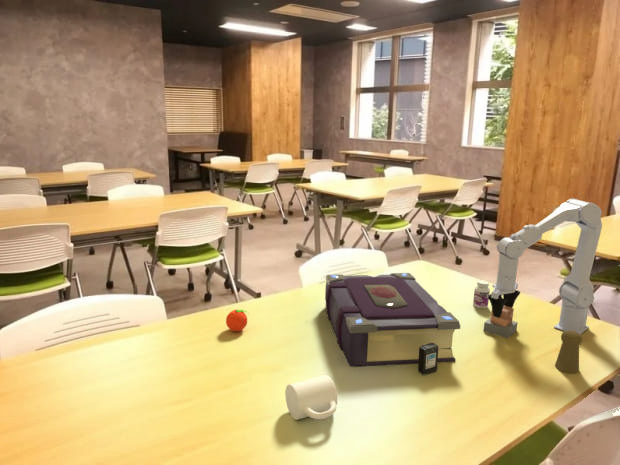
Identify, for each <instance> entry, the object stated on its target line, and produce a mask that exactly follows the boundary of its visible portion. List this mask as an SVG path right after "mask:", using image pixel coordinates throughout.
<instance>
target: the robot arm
mask: <svg viewBox="0 0 620 465" xmlns="http://www.w3.org/2000/svg"><path fill="white" fill-rule="evenodd" d="M602 213H603V210H602V209H601V208H600V207H599V205H597V204H596V203H594V202H588V201H584V200H580V199H577V198H569V199H568V200H566V201H565V202H562V203H561V204H560V205H559V207H558V208H557V209H556V210H554V211H553V212H551V213H550V214H549V215H548V216H546V217H544V219H542V220H540V221H539V222H538V223H536V224H528V225H527V224H526V225H524V226H523V228H521V229H520V230H519V231H517V232H515V233H511V234H510V237H508V236H507V237H503V238H501V240H499V242H498V244H496V250H497V252H498V257H499V258H498V263H497V264H498V267H497V273H496V283H494V284H492V288H493V291H491V293H489V295H488V298H489V302H490V305H491V312H492V311H493V316H494V317H497V318H500V317H501V314H502V310H503V307H504V306H508V307H511V308H513V307H514V304H515V302H516V300H517V298H518V297H519V296H520V294H521V291H520V290H517V289H518V288H519V287H518V286H519V283H517V282H516V281H517V275H518V274H517V273H518V267H519V258H521V257H522V256H523V254H524V252H525V251H526V249H528V248H530V247H531V246H532V245H534V244H536V243H537V242H539V241H540V240H541V239H542V238H543V234H545V233H546V232H549V231H550V230H553V229H554V228H556V227H557V226H559V225H561V224H564V223H565V222H568V223H571V222H572V223H576V225H577V226H578V227H579V228H580V232H579V236H578V241H577V246H576V250H575V254H574V258H573V263H572V266H571V270H570V274H569V275H567V276H565V277H564V278H563V279H564V280H563V282H562V283H561V284H560V286H559V288H558V293H559V295H560V297H561V302H562V303H561V309H560V316H559V322H558V323H556V324H555V325H554V327H553V328H554V329H557V330H560V331H563V332H564V331H575V332H577V333H579V334H580V335H583V333H584V332H586V331H587V330H588V329H589V328H590V326H588V325H587V319H588V315H589V307H590V306H591V305H592V303H594V299H595V296H594V289H595V288H594V285H593V283H592V282H591V280H590V277H591V271H592V268H593V264H594V261H595V257H596V253H597V249H598V245H599V241H600V237H601V233H602V228H603V223H602V218H601V217H602ZM502 296H503V297H502Z"/></svg>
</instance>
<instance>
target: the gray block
mask: <svg viewBox="0 0 620 465" xmlns="http://www.w3.org/2000/svg"><path fill="white" fill-rule="evenodd" d="M490 319H491V317H490V318H488V319H487V320H485V321H484V324H483V332H484V333H485V332H486V333H488V334H493V335H495V336H498V337H502V338H504V339H509V338H510V337H511V336H512V335H514V334H515V333H516V332H517V329H518V324H519V323H518V322H517V321H515V320H512V323H510V324H508V325H507V326H505V327H504V326H502V325H499V324H496V323H493V322H491V321H490Z"/></svg>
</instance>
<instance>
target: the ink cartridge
mask: <svg viewBox="0 0 620 465" xmlns="http://www.w3.org/2000/svg"><path fill="white" fill-rule="evenodd" d="M438 347H439V346H437V345H436V344H434V343H428V344H426V345H422V346H420V348H419V361H418V366H417V372H418V373H420V374H421V375H422V376H426V375H429V374H433V373H436V372H437V371H438V363H437V361H438Z"/></svg>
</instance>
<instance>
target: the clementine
mask: <svg viewBox="0 0 620 465" xmlns="http://www.w3.org/2000/svg"><path fill="white" fill-rule="evenodd" d="M246 313H248V311H246V310H245V309H244V310H243V309H234V310H232V311H229V313H228V314H227V316H226V319H225V323H226V326H227V328H228V329H229V330H231V331H232V332H241V331H242V330H244V329H245V328H246V327H247V324H248V316H247V314H246Z"/></svg>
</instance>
